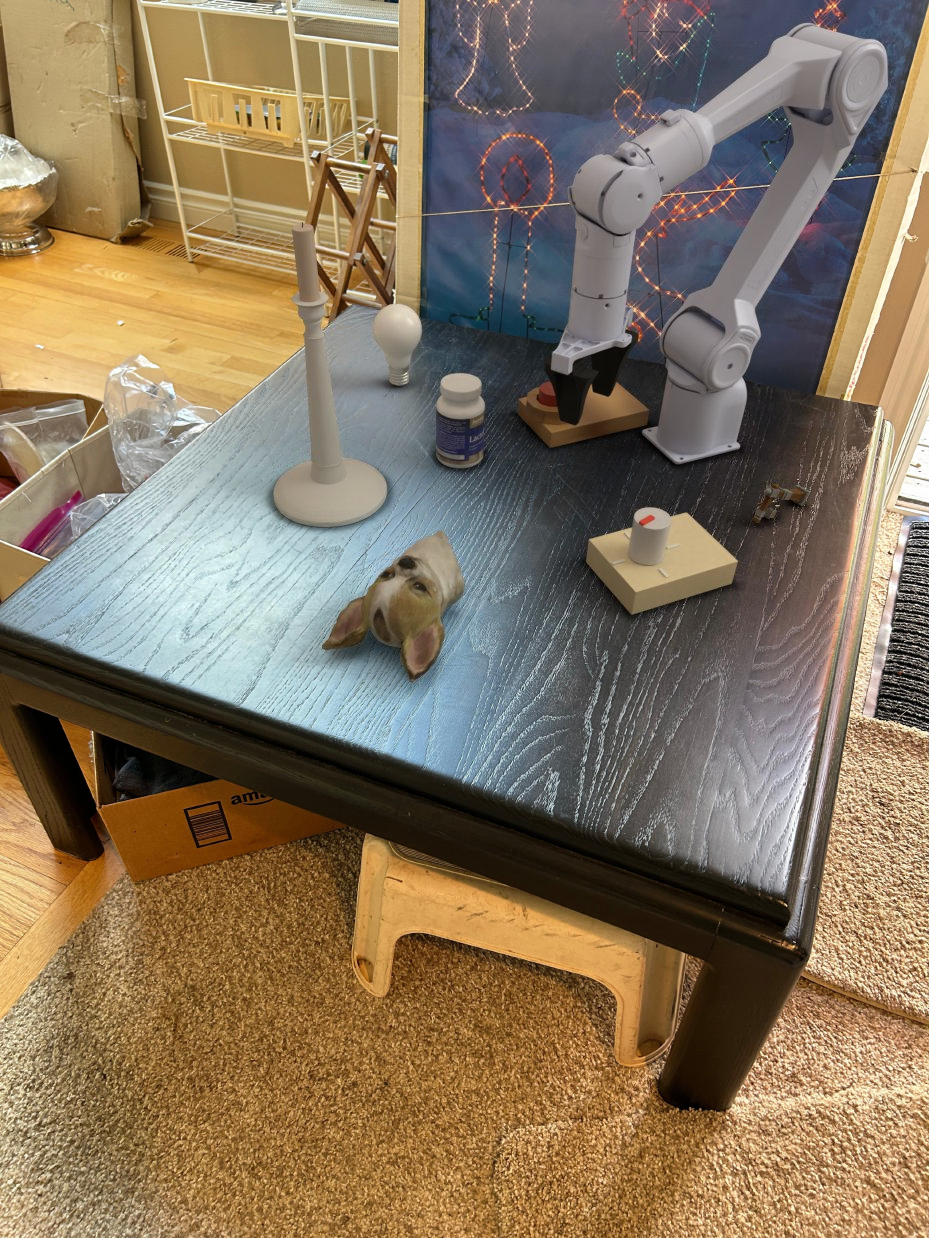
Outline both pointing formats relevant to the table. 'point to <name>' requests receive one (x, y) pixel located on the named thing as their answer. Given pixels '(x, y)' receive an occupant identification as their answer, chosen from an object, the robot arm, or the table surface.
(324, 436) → the candlestick
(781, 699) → the table surface
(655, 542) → the tap knob
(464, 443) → the pill bottle
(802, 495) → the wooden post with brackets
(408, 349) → the lightbulb
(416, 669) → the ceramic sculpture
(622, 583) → the rotary dial block
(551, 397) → the stop button
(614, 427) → the button block
